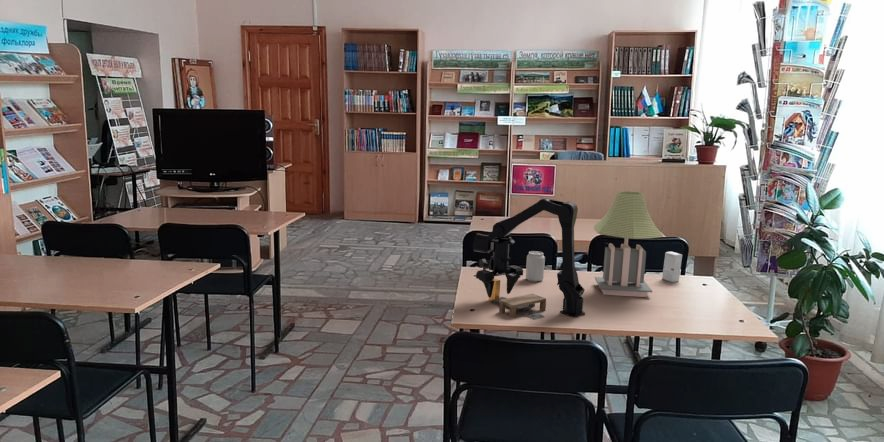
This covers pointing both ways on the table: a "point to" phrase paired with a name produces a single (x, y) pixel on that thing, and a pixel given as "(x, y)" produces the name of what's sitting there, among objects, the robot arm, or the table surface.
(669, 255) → the skincare box
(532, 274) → the can
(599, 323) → the table surface
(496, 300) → the orange grey l-shaped block
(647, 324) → the table surface
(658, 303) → the table surface
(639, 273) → the desk lamp
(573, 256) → the robot arm
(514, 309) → the small wooden bench
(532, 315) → the steel token
